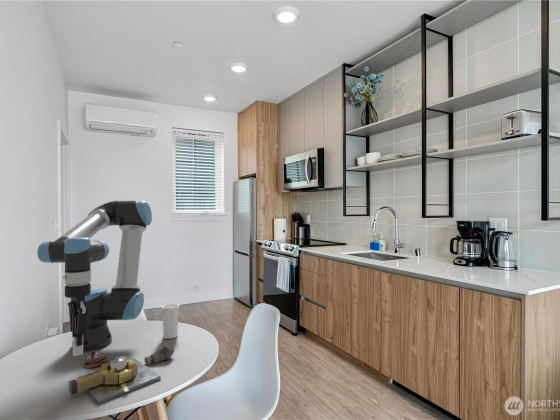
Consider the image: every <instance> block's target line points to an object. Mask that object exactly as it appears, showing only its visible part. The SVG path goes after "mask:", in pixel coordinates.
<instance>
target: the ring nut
mask: <svg viewBox="0 0 560 420" xmlns="http://www.w3.org/2000/svg"><path fill="white" fill-rule="evenodd" d="M125 357H126V358H127V369H126V370H123V371H120V372H116V368H115V369H111V362H105V363H103V364H102V365H101V366H100V367H101V368H100V369H99V370H98V371H99V372H97V371H95V372H96V373H94V372H92V373H93V374H91V373H89V374H90V375H88V374H87V375H88V376H85V375H84V376H85V377H82V376H81V377H82V378H79V377H78V378H79V379H77V378H76V379H72V380H69V381H68V391H69V394H70V395H71V396H72V395H75V394H78V393H81V392H84V391H85V390H86V389H89V388H92V387H95V386H97V385H100V384H118V383H119V384H120V383H123V382H125V381H128V380H131V379H132V378H134V376H135V375H136V374H137V363H136V362H135V361H133V359H128V356H125Z"/></svg>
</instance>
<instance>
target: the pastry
mask: <svg viewBox="0 0 560 420" xmlns="http://www.w3.org/2000/svg"><path fill="white" fill-rule="evenodd" d="M107 359H108V358H107V355H104V354H100V352H99V351H96V349H95V350H91V352H90V353H89V354H88V355H87V356H86V360H85V361H84V364H83V365H84V368H85V369H96V368H99V367H101V365H102V364H103V363H107Z"/></svg>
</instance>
